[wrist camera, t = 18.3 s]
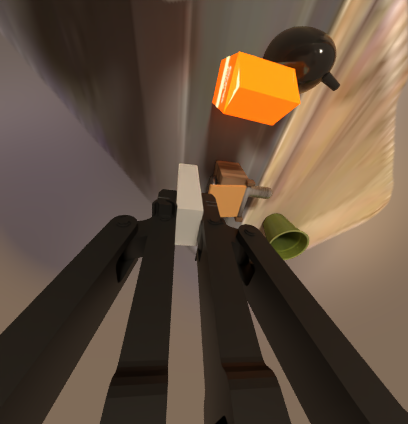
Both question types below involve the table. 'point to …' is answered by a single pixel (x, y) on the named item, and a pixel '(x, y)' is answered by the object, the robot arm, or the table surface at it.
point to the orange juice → (255, 89)
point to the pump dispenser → (305, 56)
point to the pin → (254, 192)
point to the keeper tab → (230, 199)
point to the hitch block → (231, 176)
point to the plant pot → (285, 236)
